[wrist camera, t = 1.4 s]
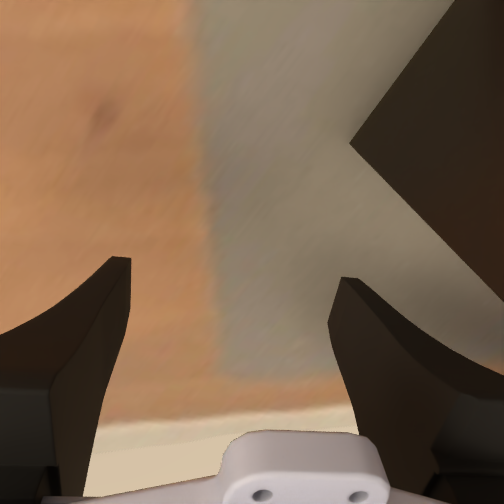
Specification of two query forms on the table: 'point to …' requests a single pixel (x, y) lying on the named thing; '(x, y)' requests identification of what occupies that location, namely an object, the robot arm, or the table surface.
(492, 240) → the screen
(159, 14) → the table surface
